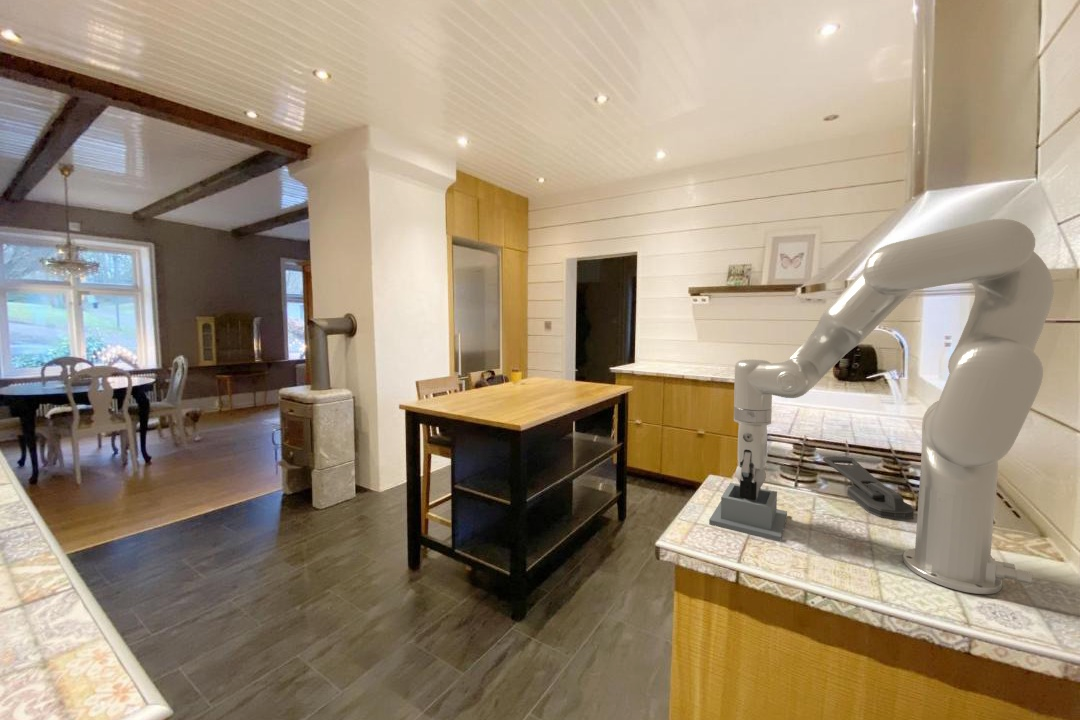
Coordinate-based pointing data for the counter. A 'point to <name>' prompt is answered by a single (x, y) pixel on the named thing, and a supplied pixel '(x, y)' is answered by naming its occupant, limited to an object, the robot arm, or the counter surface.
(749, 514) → the socket holder
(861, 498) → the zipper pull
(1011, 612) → the counter surface
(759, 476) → the lightbulb
